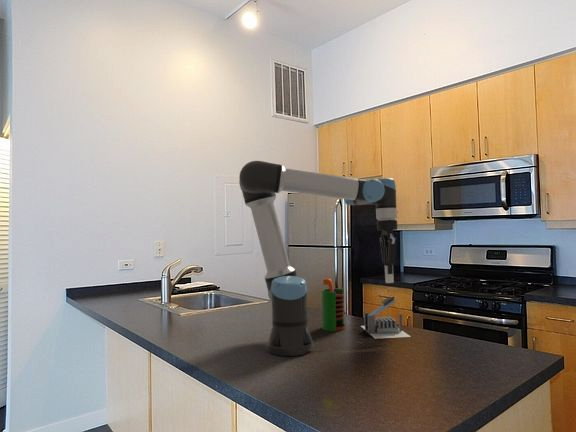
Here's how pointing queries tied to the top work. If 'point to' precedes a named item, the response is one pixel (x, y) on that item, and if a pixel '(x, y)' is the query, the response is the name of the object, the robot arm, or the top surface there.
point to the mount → (371, 323)
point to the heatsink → (385, 325)
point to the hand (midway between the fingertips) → (389, 282)
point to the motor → (332, 307)
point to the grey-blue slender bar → (383, 306)
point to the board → (393, 335)
